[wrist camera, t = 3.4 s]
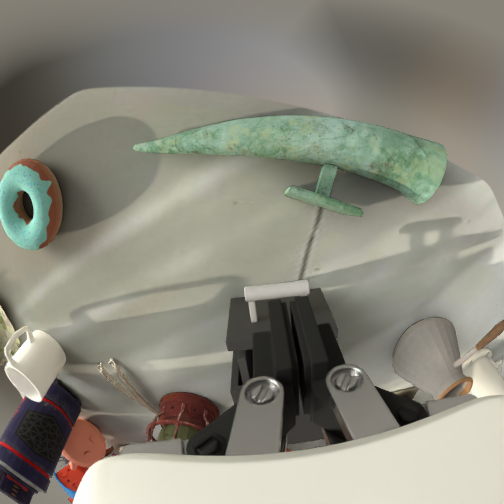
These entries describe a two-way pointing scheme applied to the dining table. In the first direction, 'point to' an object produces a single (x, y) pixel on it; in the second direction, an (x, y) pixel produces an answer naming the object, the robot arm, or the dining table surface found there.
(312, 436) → the cabinet
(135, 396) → the jawbone
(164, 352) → the dining table surface
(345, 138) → the decorative horn
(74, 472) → the toy train
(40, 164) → the donut
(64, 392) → the canister
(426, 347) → the coffee pot
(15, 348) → the cabbage leaf
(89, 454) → the sugar bowl
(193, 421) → the lantern
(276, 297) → the drawer
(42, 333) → the cup
